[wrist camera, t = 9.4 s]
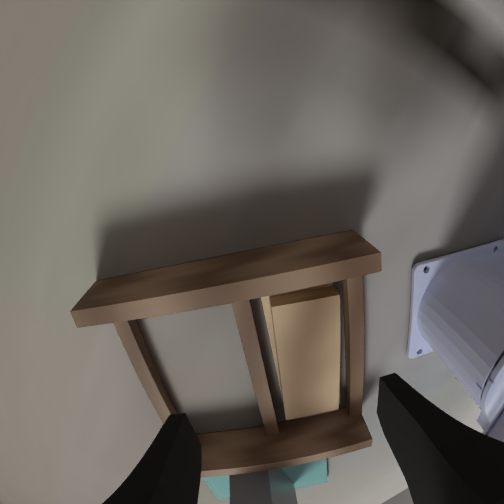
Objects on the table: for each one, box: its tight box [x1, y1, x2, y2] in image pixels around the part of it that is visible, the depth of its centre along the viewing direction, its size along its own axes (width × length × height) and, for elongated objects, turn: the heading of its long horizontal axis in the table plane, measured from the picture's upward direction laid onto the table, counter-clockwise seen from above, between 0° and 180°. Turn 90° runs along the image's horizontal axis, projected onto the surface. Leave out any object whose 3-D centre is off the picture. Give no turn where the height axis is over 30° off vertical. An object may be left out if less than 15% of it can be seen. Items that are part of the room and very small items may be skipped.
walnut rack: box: [70, 230, 381, 477], centre depth 19 cm, size 16×16×4 cm
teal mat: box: [203, 459, 327, 499], centre depth 26 cm, size 12×9×1 cm
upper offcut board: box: [269, 286, 340, 420], centre depth 20 cm, size 4×10×1 cm, turn 8°
